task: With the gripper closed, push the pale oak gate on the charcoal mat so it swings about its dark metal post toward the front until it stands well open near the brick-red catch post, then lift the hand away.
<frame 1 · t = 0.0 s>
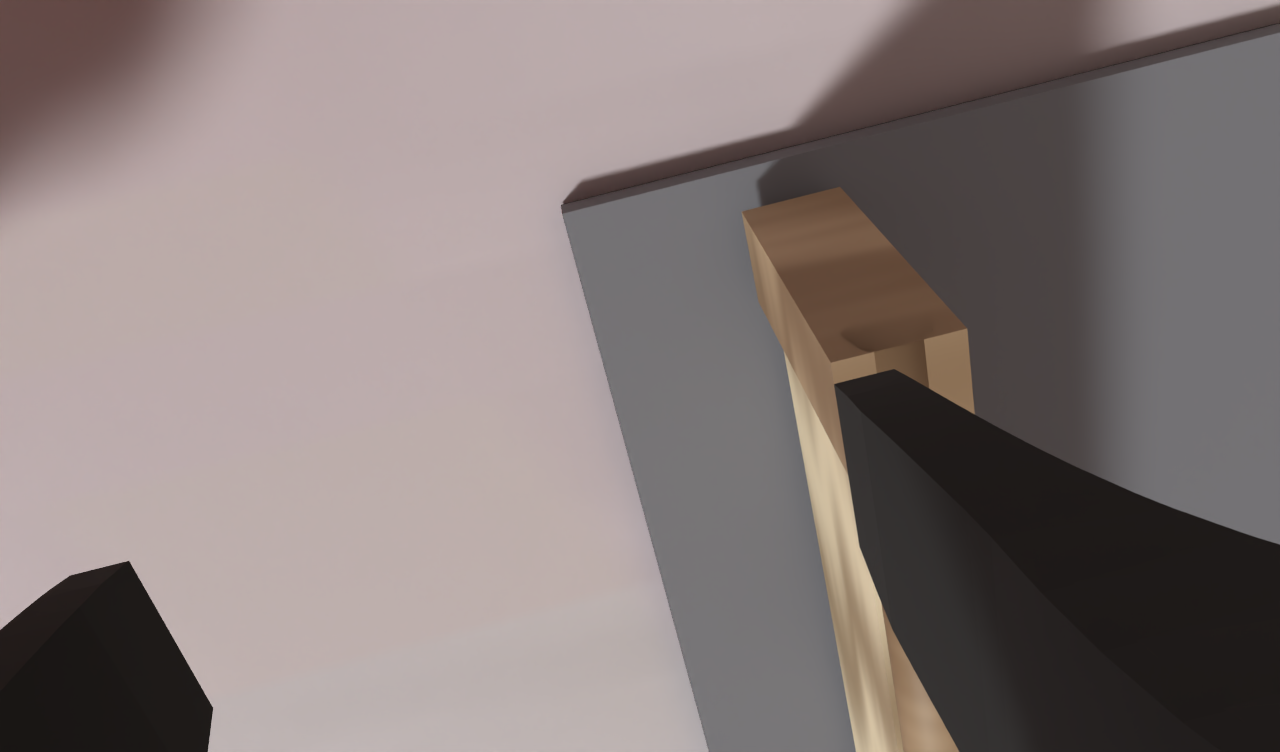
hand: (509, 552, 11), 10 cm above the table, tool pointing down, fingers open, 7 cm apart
mat: (1187, 521, 25), on the table
gate: (892, 640, 20), point 4 cm above the table, hinge at 0.0°
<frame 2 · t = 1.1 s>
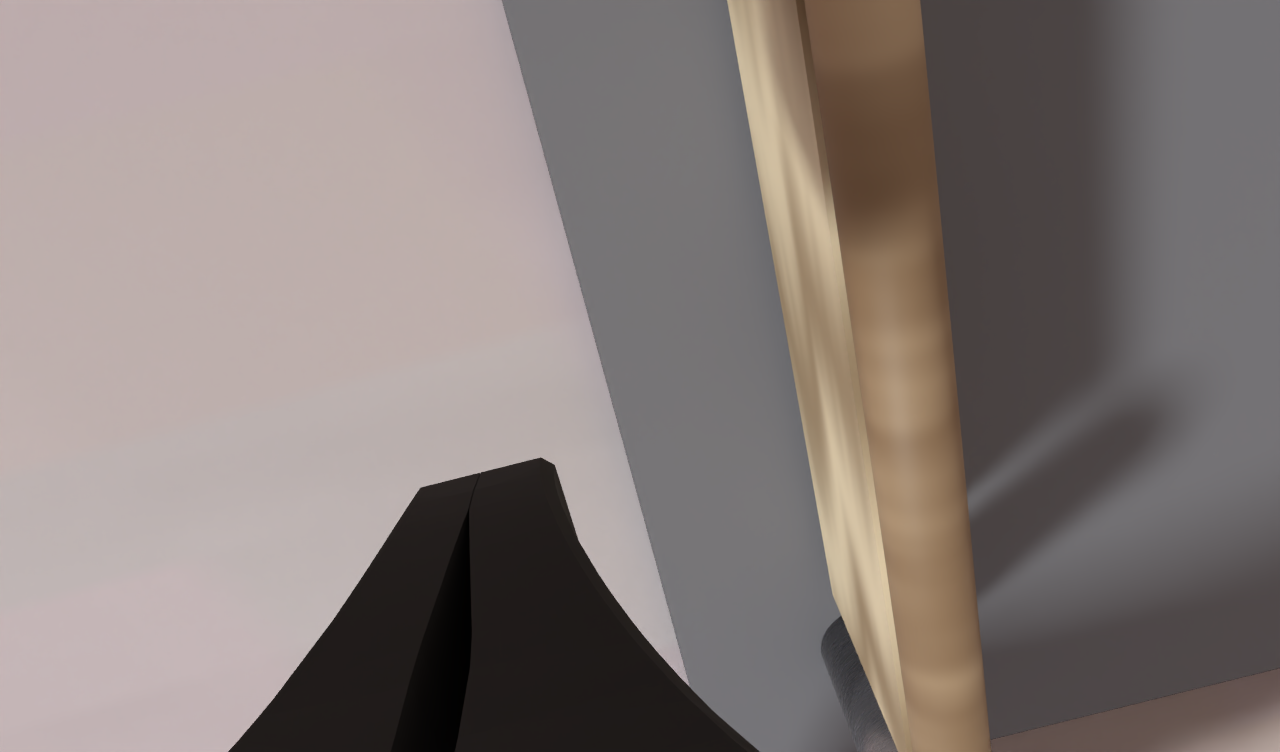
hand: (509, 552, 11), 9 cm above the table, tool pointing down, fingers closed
hinge post: (858, 627, 24), resting on mat
mat: (1214, 258, 21), on the table
gate: (856, 329, 16), point 4 cm above the table, hinge at 0.0°
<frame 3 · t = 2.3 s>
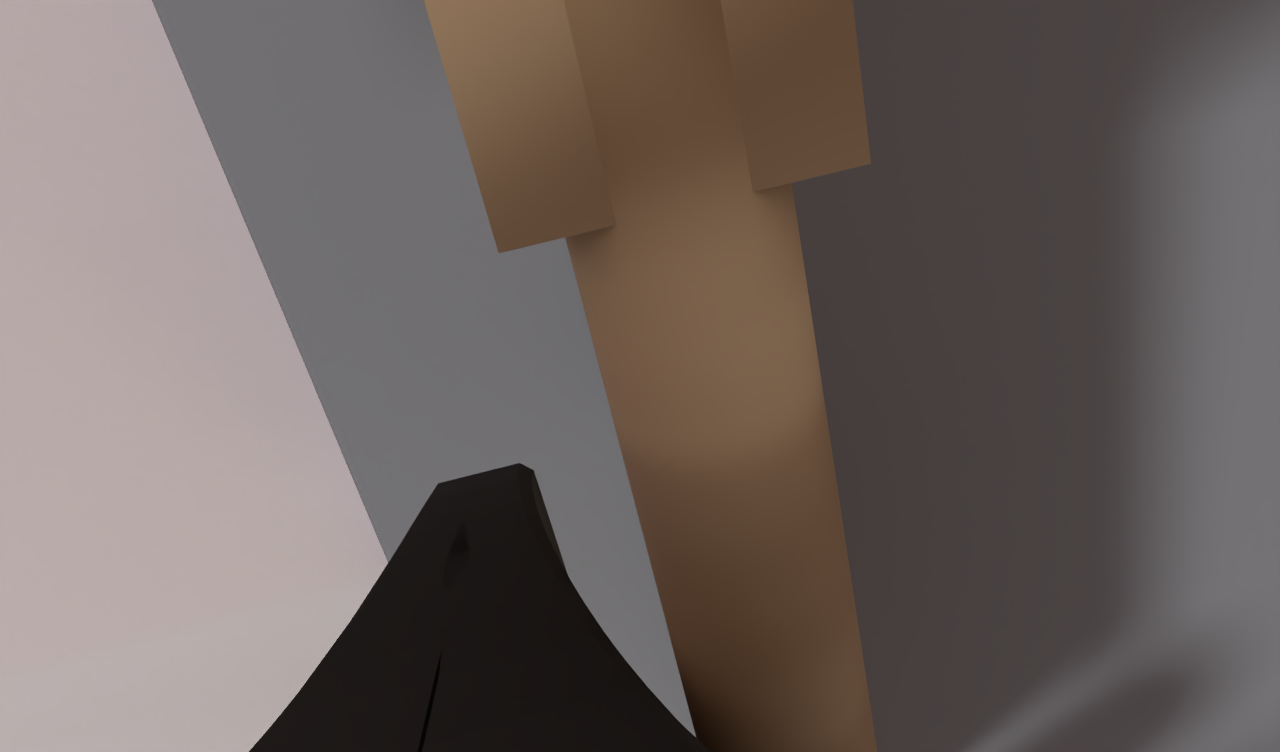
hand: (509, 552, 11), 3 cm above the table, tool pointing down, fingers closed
mat: (1273, 480, 15), on the table
gate: (757, 685, 10), point 4 cm above the table, hinge at -0.5°, touching gripper
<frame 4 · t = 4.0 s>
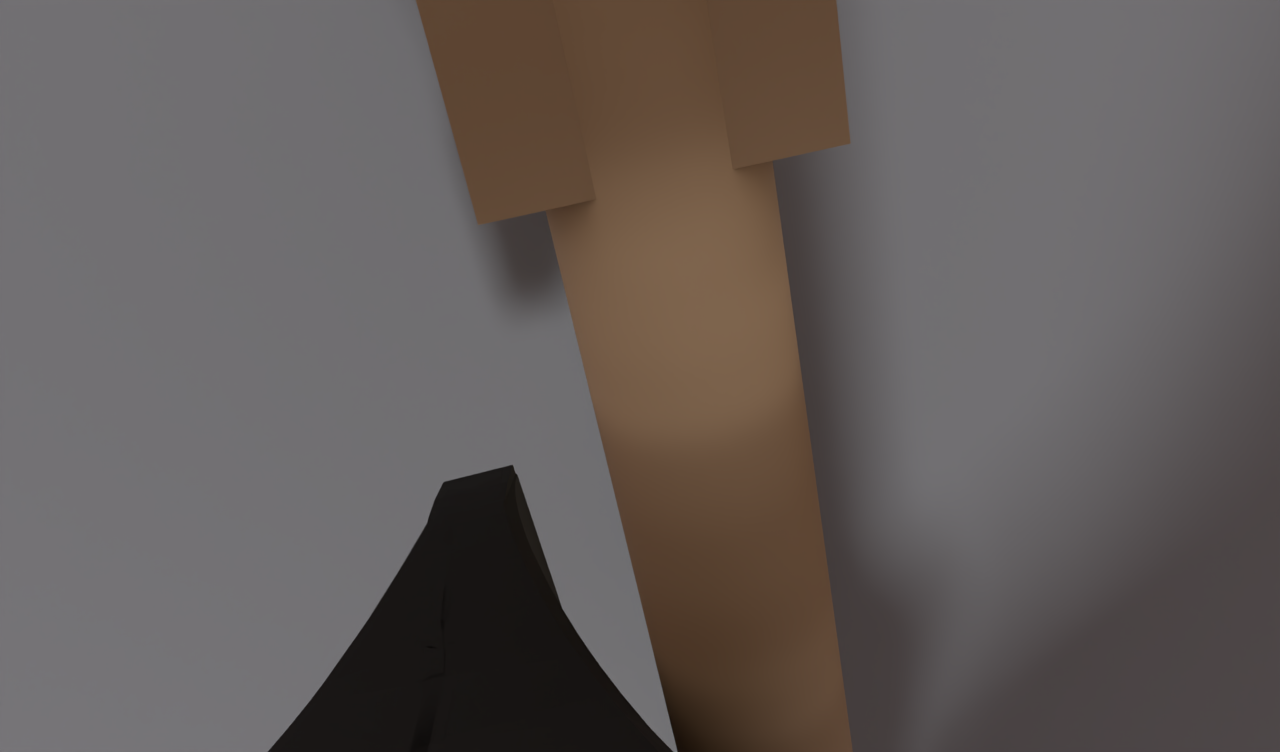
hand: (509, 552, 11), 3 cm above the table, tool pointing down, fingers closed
mat: (776, 375, 14), on the table
gate: (735, 678, 10), point 4 cm above the table, hinge at -41.1°, touching gripper
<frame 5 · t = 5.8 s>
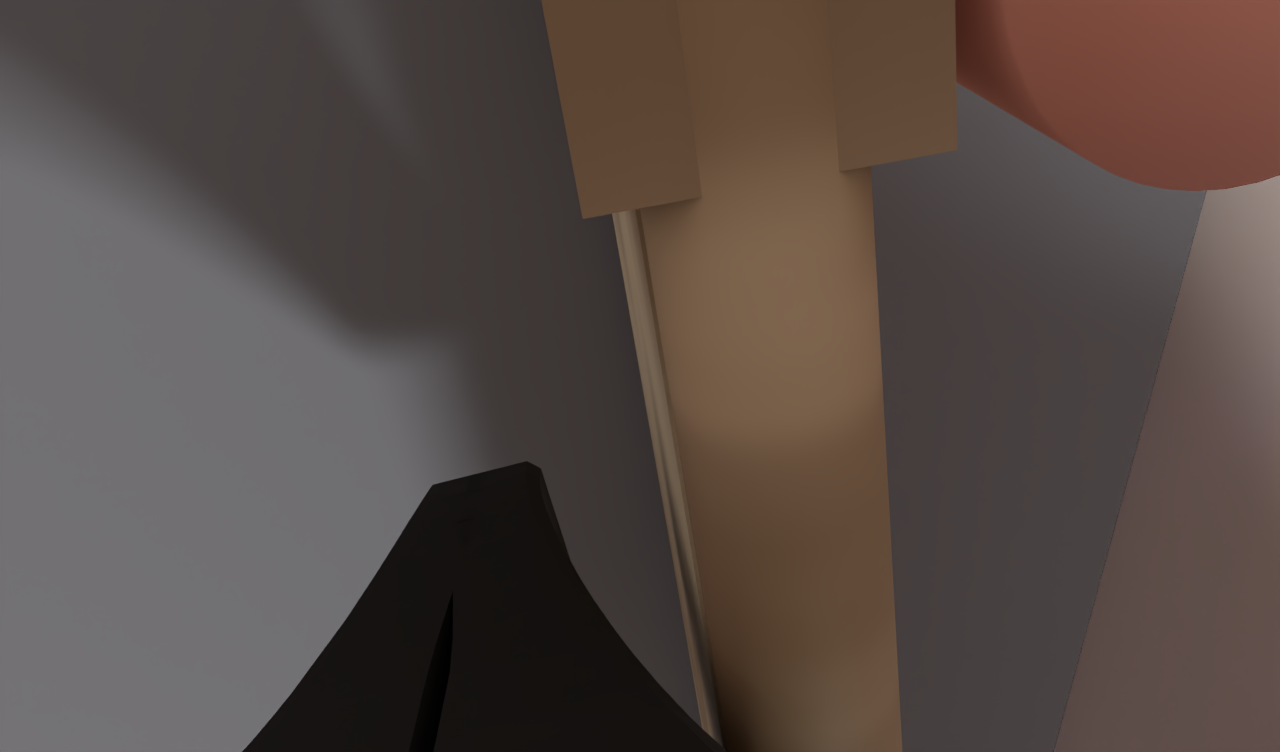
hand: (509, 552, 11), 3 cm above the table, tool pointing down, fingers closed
mat: (295, 570, 14), on the table
gate: (764, 680, 10), point 4 cm above the table, hinge at -79.9°, touching gripper
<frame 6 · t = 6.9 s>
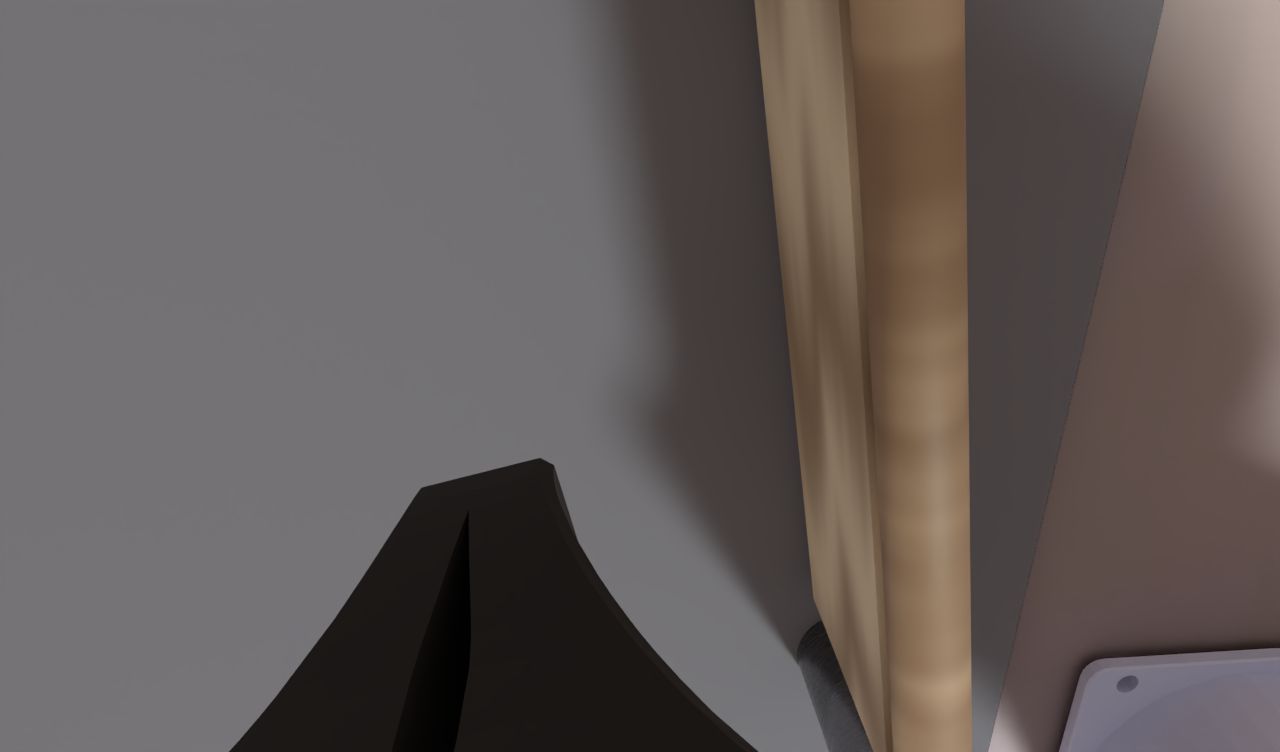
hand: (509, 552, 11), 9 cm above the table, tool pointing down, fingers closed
hinge post: (835, 633, 24), resting on mat
mat: (510, 316, 20), on the table
gate: (865, 330, 16), point 4 cm above the table, hinge at -79.9°
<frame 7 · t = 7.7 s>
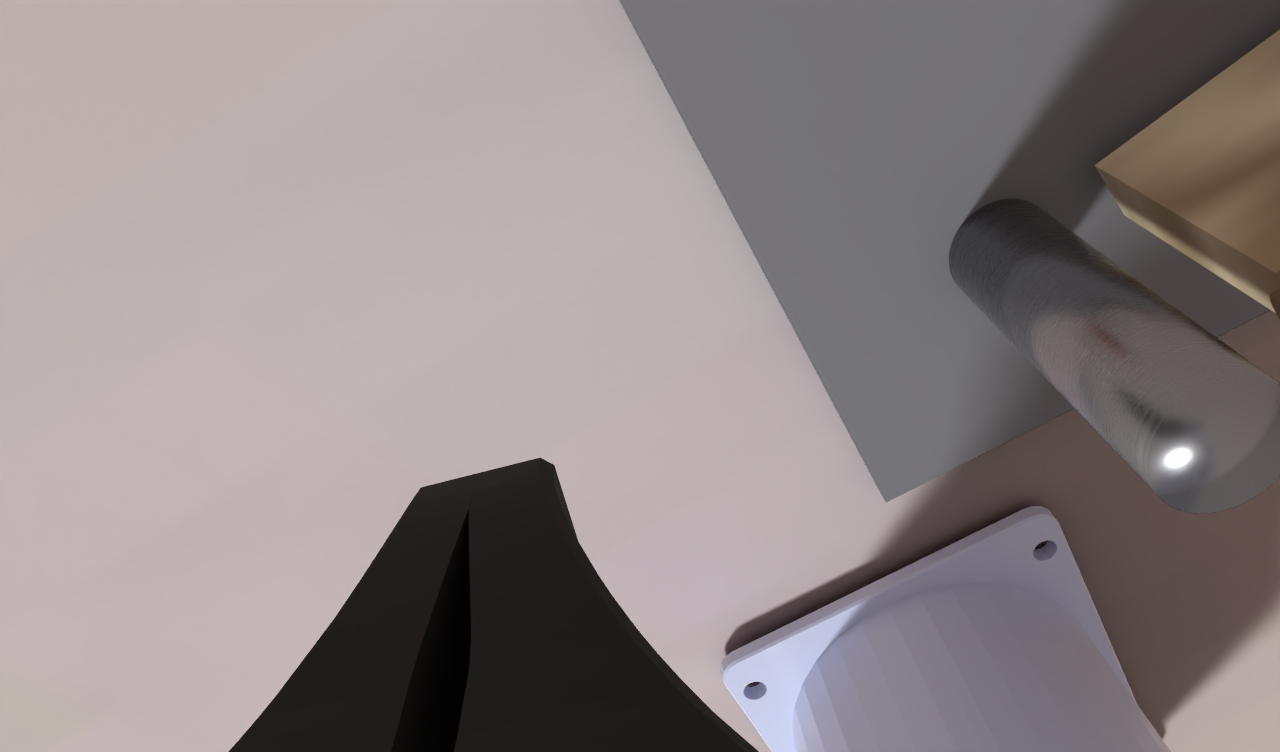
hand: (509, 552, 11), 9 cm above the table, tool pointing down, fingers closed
hinge post: (990, 241, 20), resting on mat
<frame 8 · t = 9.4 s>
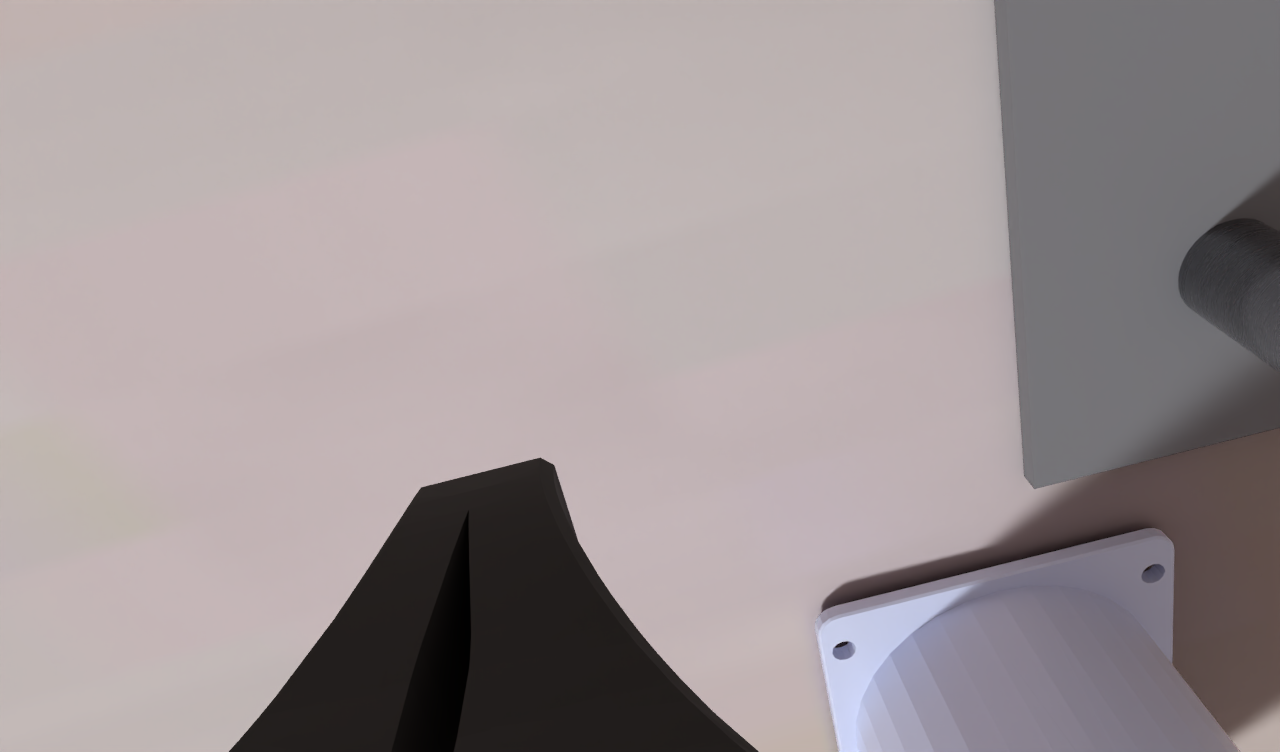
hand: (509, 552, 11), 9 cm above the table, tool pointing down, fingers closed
hinge post: (1214, 258, 21), resting on mat
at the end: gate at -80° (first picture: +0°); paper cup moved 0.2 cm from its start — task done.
